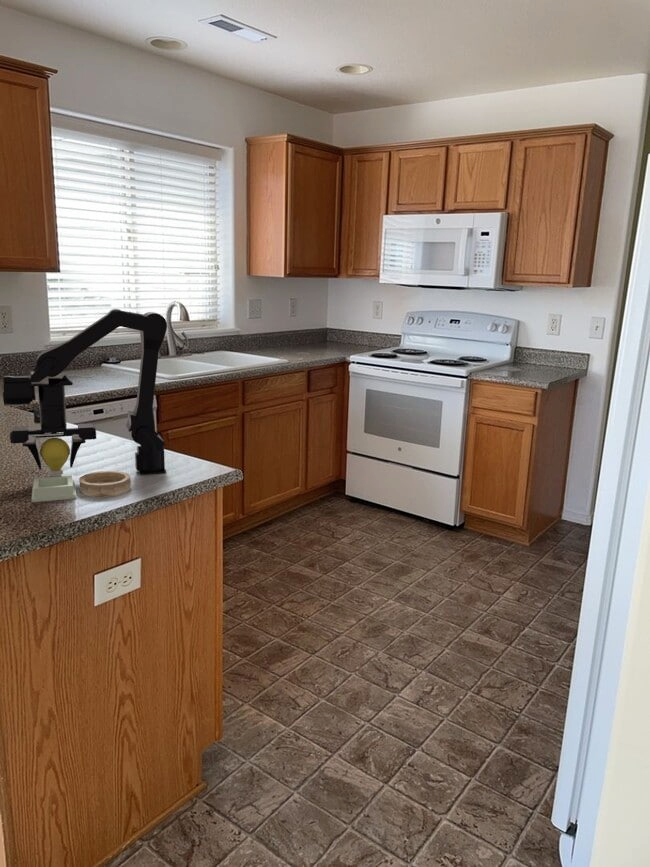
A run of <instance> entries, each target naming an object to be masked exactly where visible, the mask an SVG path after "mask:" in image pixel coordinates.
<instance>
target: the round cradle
mask: <svg viewBox="0 0 650 867" xmlns="http://www.w3.org/2000/svg"><path fill="white" fill-rule="evenodd" d="M78 479H79V480H78V482H79V493H80V494H81V495H83V496H86V497H89V498H107V497H109V498H110V497H115V496H119V495H123V494H126V493H128V492H129V491H130V490H131V484H132V482H131V475H130V474H129V473H128V472H124V471H119V470H103V471H95V472H90V473H86V474H84V475H82V476H80V477H78ZM125 492H126V493H125Z"/></svg>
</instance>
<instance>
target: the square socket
mask: <svg viewBox="0 0 650 867" xmlns="http://www.w3.org/2000/svg"><path fill="white" fill-rule="evenodd" d="M75 485H76V484H75V482H73V476H72V475H63V476H62V475H61V476H60V477H51V476H50V477H39V478H33V486H32V489H31V503H41V502H50V501H61V500H73V499H77V492H76V486H75Z"/></svg>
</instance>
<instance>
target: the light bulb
mask: <svg viewBox="0 0 650 867" xmlns="http://www.w3.org/2000/svg"><path fill="white" fill-rule="evenodd" d="M70 454H71V447H70V446H69V444H68V442H67V441H65V440H64V439H63V438H60V437H49V438H48V439H46V440H45V441H43V443H42V444H41V446H40V449H39V455H40V458H41V459H42V460H43V462H44V464H45V465H46V466H47V467H48V468H49V470H48V476H50V477H60V476H62V475H63V474H64V472H63V471H64V470H63V469H62V468H63V467H64V465H65V464H66V463H67V460H68V459H69V458H70Z"/></svg>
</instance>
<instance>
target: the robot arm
mask: <svg viewBox="0 0 650 867" xmlns="http://www.w3.org/2000/svg"><path fill="white" fill-rule="evenodd" d="M120 327H121V328H127V329H130V330H135V331H139V336H140V337H139V338H140V344H141V355H140V356H141V357H140V364H139V365H140V366H139V375H138V385H137V393H136V396H137V397H136V403H135V407H134V408H133V410H132V411H131V410H127V422H126V424H125V427H126V429H127V430H128V432H129V435H130V437H131V438H132V440H133V441H134V442H135V443H136V444H137V445H139V446H136V450H137V451H136V452H134V460H135V466H134V467H135V470H136V472H138V473H139V475H153V474H154V475H155V474H165V473H167V469H166V466H165V465H166V464H165V441H164V439H163V437H161V435H160V433H158V432H157V430H156V425H155V415H154V398H155V389H156V379H157V372H158V362H159V355H160V354H159V353H160V350H161V348H162V345H163V343H164V340H165V336H166V332H167V329H168V322H167V319H166V318H165V317H164V316H163V315H161V314H160V313H158V312H155V311H148V312H145V313H143V314H142V313H137V312H132V311H125V310H121V309H119V308H113V309H111V310H109V312H108V313H106V314H105V315H104V316H102V317H101V318H99V319H98V320H96V321H94V322H93V323H92V324H90V325H89V326H88V327H85V329H83V330H81V331H79V333H77V334H76V335H74V336H72V337H71V338H70V339H68V340H66V341H64V342H61V343H58V344H56V345H54V346H51V347H48V348H46V349H44V350H43V351H41V352H40V353H38V355H37V359H36V366H35V367H34V368H33V370H31V371H30V374H29V375H23V376H20V375H19V376H16V375H14V376H12V375H4V376H3V378H2V380H3V390H2V398H3V400H2V401H3V405H4V406H8V407H9V406H31V404H32V403H33V401H36V400H37V398H36V397H37V396H36V387H37V391H38V405H39V407H38V408H39V409H35V410H33V422H34V425H40V426H39V427H40V429H30V427H29V426H13V427H11V429H10V432H9V441H10V444H21V445H22V447H26V448H28V450H29V452H30V453H31V455H32V456H33V458H34V461H35V463H36V465H37V468H38V469H39V470H42V461H41V455H40V449H39V446H38V440H37V439H38V438H39V439H41V438H60V437H71V443H70V455H69V468H71V469H72V468H73V466H74V462H75V460H76V456H77V454H78V451H79V449H80V448H81V445H82V444H86V441H88V440H90V441H91V440H96V439H97V429H96V425H95V424H93V423H78V424H77V427H70V428H68V426H67V409H66V392H65V391H66V389H65V386H73V384H74V383H73V380H72V379H70V378H69V377H68V376H67V374H66V373H64V374H62V376H61V377H57V376H58V375H60V374H61V373H62V372H63V371H64V370H65V369H66V368H67V367H68V366H69V365H70V364H71V363H72V362H73V361H74V360H75V359H76V358H77V357H78V356H79V355H80V354H81V353H83V352H84V351H85V350H87V349H89V348H90V347H91V346H93V345H94V344H96V343H97V342H99V341H100V340H102V339H103V338H105V337H106V336H108V335H109V334H110V333H113V331H116V330H117V329H118V328H120ZM48 377H49V378H48ZM46 378H48V379H47V380H48V381H43V380H44V379H46Z"/></svg>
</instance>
